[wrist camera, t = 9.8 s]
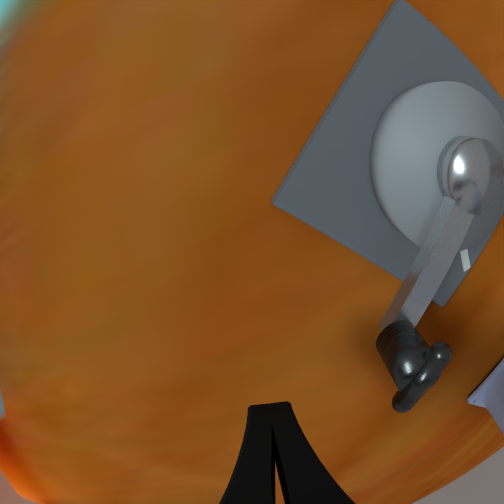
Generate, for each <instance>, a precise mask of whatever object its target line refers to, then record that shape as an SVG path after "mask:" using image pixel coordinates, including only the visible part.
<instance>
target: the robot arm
mask: <svg viewBox="0 0 504 504" xmlns="http://www.w3.org/2000/svg"><path fill="white" fill-rule="evenodd" d="M467 401H468V403H469V404H473V405H477V406H480V407H484V408H487V410H488V411H489V413H490V414H491V416H492V417H493V419H494V420H495V422H496V423H497V425H498V426H499V428H500V430H501V431H502V433H503V434H504V358H503V359H502V361H501V362H500V363H499V364H498V365H497V367H496V368H495V369H494V370H493V371H492V372H491V374H490V375H489V376H488V377H487V378H486V379H485V380H484V382H483V383H482V384H481V385H480V386H479V387H478V388H477V389H476V390H475V391H474V392H473V393H472V394H471V395H470V396H469V398H468V399H467ZM275 463H276V467H277V472H278V476H279V480H280V485H281V489H282V493H283V498H284V502H285V504H355V503H354V502H353V501H352V500H351V499H350V498H349V497H348V495H347V494H346V493H345V492H344V491H343V490H342V489H341V488H340V486H339V485H338V484H337V483H336V482H335V480H334V479H333V478H332V476H331V475H330V474H329V473H328V471H327V470H326V468H325V467H324V466H323V464H322V463H321V461H320V460H319V458H318V457H317V455H316V454H315V452H314V451H313V449H312V447H311V446H310V444H309V442H308V441H307V439H306V437H305V435H304V434H303V432H302V430H301V428H300V426H299V424H298V421H297V419H296V417H295V415H294V412H293V409H292V406H291V403H289V402H288V401H286V402H278V403H270V404H260V405H251V406H250V407H248V415H247V423H246V429H245V433H244V438H243V442H242V446H241V449H240V453H239V456H238V459H237V462H236V465H235V468H234V471H233V473H232V476H231V478H230V481H229V484H228V486H227V488H226V491H225V493H224V495H223V497H222V499H221V501H220V503H219V504H275Z"/></svg>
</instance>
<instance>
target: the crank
mask: <svg viewBox="0 0 504 504" xmlns="http://www.w3.org/2000/svg"><path fill="white" fill-rule="evenodd" d="M437 181H438V186H439V189H440V191H441V193H442V195H443V197H444V199H443V201H442V203H441V206H440V208H439V210H438V213H437V215H436V217H435V219H434V221H433V224H432V226H431V228H430V230H429V232H428V234H427V237H426V239H425V241H424V243H423V245H422V247H421V249H420V251H419V253H418V255H417V257H416V259H415V261H414V263H413V265H412V267H411V269H410V270H409V272H408V274H407V276H406V278H405V280H404V282H403V283H402V285H401V287H400V289H399V291H398V292H397V294H396V296H395V298H394V300H393V301H392V303H391V305H390V306H389V308H388V310H387V312H386V313H385V315H384V317H383V318H382V320H381V322H380V323H379V325H378V326H379V328H380V329H381V331H382V332H381V333H380V334H379V336H378V338H377V341H376V348H377V350H378V352H379V354H380V356H381V357H382V359H383V361H384V363H385V365H386V367H387V369H388V371H389V372H390V374H391V376H392V378H393V380H394V382H395V384H396V386H397V388H398V391H397V392H396V394H395V395H394V396H393V399H392V407H393V409H394V410H395V411H397V412H399V413H405V412H407V411H409V410H410V409H411V408H412V407H413V406H414V405H415V404H416V403H417V401H418V400H419V399H420V398H421V397H422V396H423V394H424V393H425V392H426V391H427V390H428V389H429V388H430V387H431V386H432V385H433V384H434V383H435V382H436V381H437V380H438V378H439V377H440V375H441V372H442V371H443V369H444V368H445V367H446V365H447V364H448V363H449V361H450V359H451V357H452V350H451V347H450V345H449V344H447V343H446V342H442V341H440V342H436V343H434V344H433V345H432V346H431V347H429V346H428V345H427V343H426V342H425V340H424V339H423V338H422V336H421V335H420V334H419V332H418V331H417V330H416V328H415V326H416V325H417V323H418V322H419V320H420V318H421V317H422V315H423V314H424V312H425V310H426V309H427V307H428V305H429V304H430V302H431V300H432V298H433V297H434V295H435V293H436V291H437V290H438V288H439V286H440V284H441V283H442V281H443V279H444V277H445V275H446V273H447V271H448V269H449V268H450V266H451V264H452V262H453V260H454V258H455V256H456V254H457V252H458V250H459V248H460V246H461V244H462V242H463V239H464V237H465V235H466V233H467V231H468V229H469V226H470V224H471V222H472V220H473V217H474V215H480V214H483V213H485V212H487V211H489V210H490V209H491V208H492V207H493V206H494V205H495V203H496V202H497V200H498V198H499V196H500V194H501V191H502V187H503V182H504V166H503V161H502V158H501V155H500V153H499V151H498V150H497V148H496V147H495V146H494V145H493V144H492V143H491V142H490V141H488V140H485V139H481V138H476V137H470V136H457V137H455V138H453V139H451V140H450V141H449V142H448V143H447V144H446V145H445V146H444V148H443V150H442V152H441V154H440V157H439V160H438V164H437Z"/></svg>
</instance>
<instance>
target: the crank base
mask: <svg viewBox="0 0 504 504" xmlns="http://www.w3.org/2000/svg"><path fill="white" fill-rule="evenodd" d="M457 136H470V137H476V138H481V139H485V140H488V141H490V142H491V143H492V144H493V145H494V146H495V147H496V148H497V150H498V151H499V153H500V155H501V158H502V161H503V166H504V101H503V100H502V98H501V97H500V96H499V94H498V93H497V92H496V91H495V89H494V88H493V87H492V86H491V84H490V83H489V82H488V81H487V80H486V78H485V77H484V76H483V75H482V74H481V73H480V71H479V70H478V69H477V68H476V67H475V66H474V65H473V64H472V63H471V61H470V60H469V59H468V58H467V57H466V56H465V55H464V54H463V53H462V52H461V51H460V50H459V49H458V48H457V47H456V46H455V45H454V44H453V43H452V42H451V41H450V40H449V39H448V38H447V37H446V36H445V35H444V34H443V33H442V32H441V31H440V30H439V29H438V28H436V27H435V26H434V25H433V24H432V23H431V22H430V21H429V20H428V19H426V18H425V17H424V16H423V15H422V14H421V13H419V12H418V11H417V10H416V9H415V8H413V7H412V6H411V5H410V4H408V3H407V2H406V1H405V0H396V1H394V2H393V3H392V5H391V7H390V8H389V10H388V11H387V13H386V14H385V16H384V18H383V19H382V21H381V22H380V24H379V26H378V27H377V29H376V30H375V32H374V34H373V35H372V37H371V38H370V40H369V42H368V43H367V45H366V46H365V48H364V50H363V51H362V53H361V54H360V56H359V58H358V59H357V61H356V62H355V64H354V66H353V67H352V69H351V71H350V72H349V74H348V75H347V77H346V79H345V80H344V82H343V83H342V85H341V87H340V88H339V90H338V92H337V93H336V95H335V96H334V98H333V100H332V101H331V103H330V105H329V106H328V108H327V109H326V111H325V113H324V114H323V116H322V118H321V119H320V121H319V122H318V124H317V126H316V127H315V129H314V131H313V132H312V134H311V136H310V137H309V139H308V141H307V142H306V144H305V145H304V147H303V149H302V150H301V152H300V154H299V155H298V157H297V159H296V160H295V162H294V164H293V165H292V167H291V168H290V170H289V172H288V173H287V175H286V177H285V178H284V180H283V182H282V183H281V185H280V187H279V188H278V190H277V192H276V193H275V195H274V197H273V198H272V200H271V201H272V203H273V205H275V206H277V207H278V208H280V209H282V210H284V211H286V212H287V213H289V214H291V215H293V216H294V217H296V218H298V219H300V220H301V221H303V222H305V223H307V224H308V225H310V226H312V227H314V228H315V229H317V230H319V231H321V232H322V233H324V234H326V235H327V236H329V237H331V238H333V239H334V240H336V241H338V242H339V243H341V244H343V245H344V246H346V247H348V248H349V249H351V250H353V251H354V252H356V253H358V254H359V255H361V256H363V257H364V258H366V259H368V260H369V261H371V262H372V263H374V264H376V265H377V266H379V267H381V268H382V269H384V270H385V271H387V272H389V273H390V274H392V275H393V276H395V277H397V278H398V279H400V280H401V281H403V282H404V280H405V278H406V276H407V274H408V272H409V270H410V269H411V267H412V265H413V263H414V261H415V259H416V257H417V255H418V253H419V251H420V249H421V247H422V245H423V243H424V241H425V239H426V237H427V234H428V232H429V230H430V228H431V226H432V224H433V221H434V219H435V217H436V215H437V213H438V210H439V208H440V206H441V203H442V201H443V199H444V197H443V195H442V193H441V191H440V189H439V186H438V181H437V164H438V160H439V157H440V154H441V152H442V150H443V148H444V146H445V145H446V144H447V143H448V142H449V141H450V140H451V139H453V138H455V137H457ZM503 213H504V182H503V187H502V191H501V194H500V196H499V198H498V200H497V202H496V203H495V205H494V206H493V207H492V208H491V209H490V210H489V211H487V212H485V213H483V214H480V215H474V217H473V220H472V222H471V224H470V226H469V229H468V231H467V233H466V235H465V237H464V239H463V242H462V244H461V246H460V248H459V250H458V252H457V254H456V256H455V258H454V260H453V262H452V264H451V266H450V268H449V269H448V271H447V273H446V275H445V277H444V279H443V281H442V283H441V284H440V286H439V288H438V290H437V291H436V293H435V295H434V297H433V298H432V301H434V302H435V303H437V304H438V305H440V306H441V307H444V305H445V304H446V303H447V301H448V300H449V298H450V297H451V296H452V294H453V293H454V292H455V290H456V289H457V287H458V286H459V285H460V283H461V282H462V280H463V279H464V277H465V276H466V274H467V273H468V271H469V270H470V268H471V267H472V265H473V264H474V262H475V261H476V259H477V258H478V256H479V255H480V253H481V251H482V250H483V248H484V246H485V245H486V243H487V242H488V240H489V238H490V236H491V235H492V233H493V231H494V230H495V228H496V226H497V224H498V223H499V221H500V219H501V217H502V215H503Z"/></svg>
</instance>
